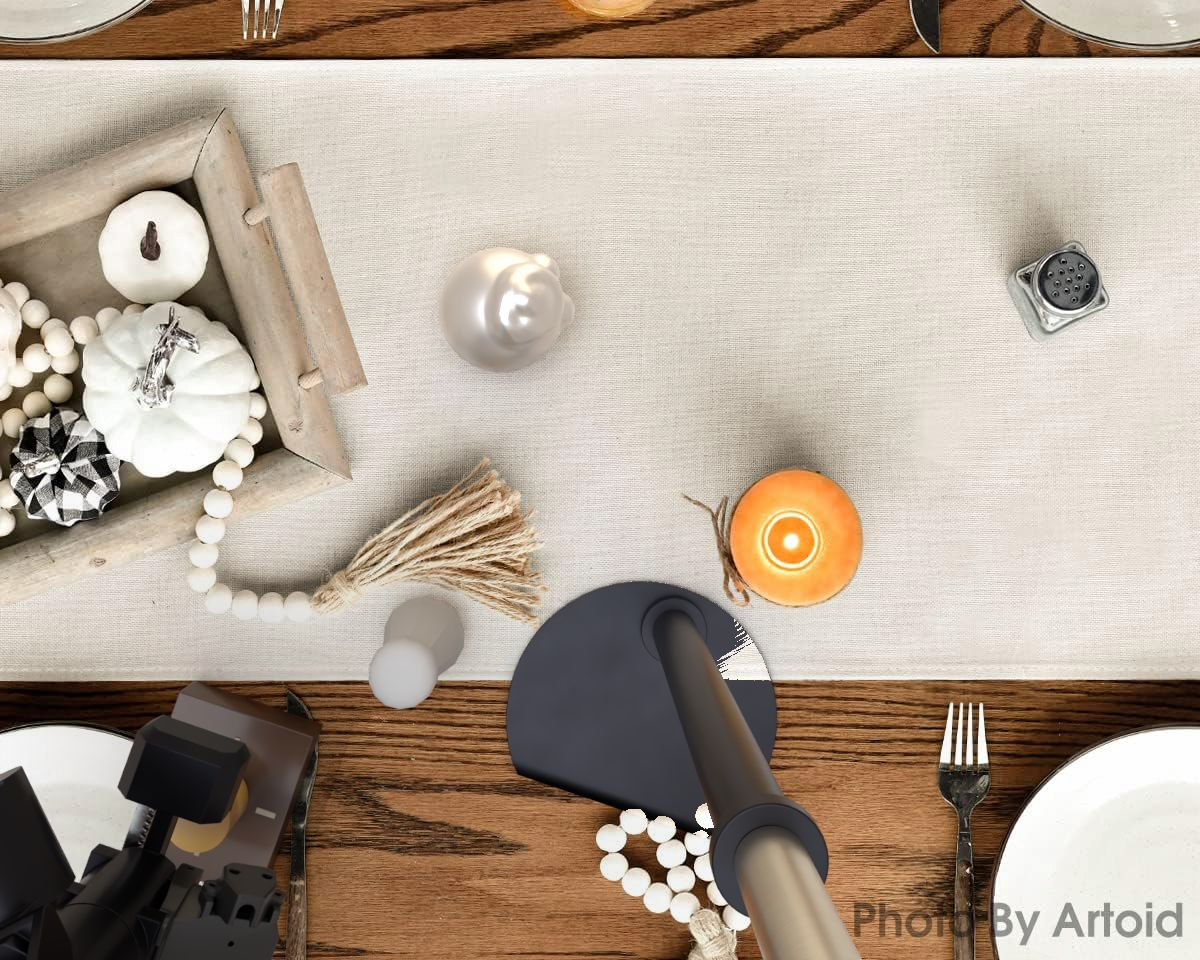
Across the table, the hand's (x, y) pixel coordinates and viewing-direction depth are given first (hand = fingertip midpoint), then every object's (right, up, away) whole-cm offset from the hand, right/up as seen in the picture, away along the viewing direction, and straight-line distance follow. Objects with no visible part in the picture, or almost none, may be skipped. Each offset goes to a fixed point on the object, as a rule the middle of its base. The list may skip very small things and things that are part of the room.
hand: (194, 829), depth 68 cm
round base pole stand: (+29, +4, +10) cm, 31 cm away
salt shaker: (+14, +11, +10) cm, 20 cm away
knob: (-1, 0, +6) cm, 6 cm away
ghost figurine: (+20, +34, +10) cm, 41 cm away
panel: (-1, 0, +9) cm, 9 cm away
